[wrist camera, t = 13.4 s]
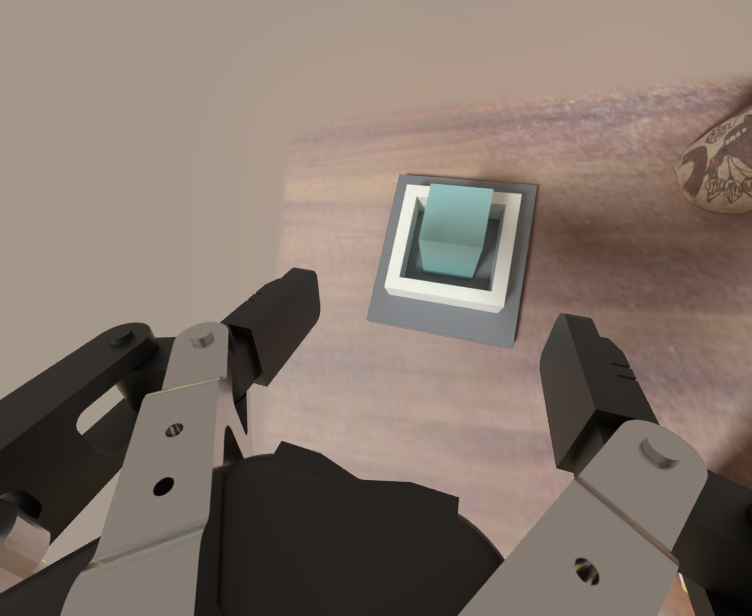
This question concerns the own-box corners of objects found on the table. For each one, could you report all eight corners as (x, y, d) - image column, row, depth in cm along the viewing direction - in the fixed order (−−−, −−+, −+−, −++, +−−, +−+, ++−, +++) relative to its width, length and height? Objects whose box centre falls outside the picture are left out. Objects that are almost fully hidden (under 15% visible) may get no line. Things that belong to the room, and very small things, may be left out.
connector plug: (479, 235, 26) (493, 189, 20) (471, 280, 26) (482, 248, 19) (432, 229, 27) (430, 183, 20) (423, 272, 27) (418, 239, 20)
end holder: (533, 192, 27) (547, 166, 24) (509, 348, 25) (521, 345, 22) (400, 181, 30) (395, 156, 27) (369, 321, 28) (359, 314, 24)
